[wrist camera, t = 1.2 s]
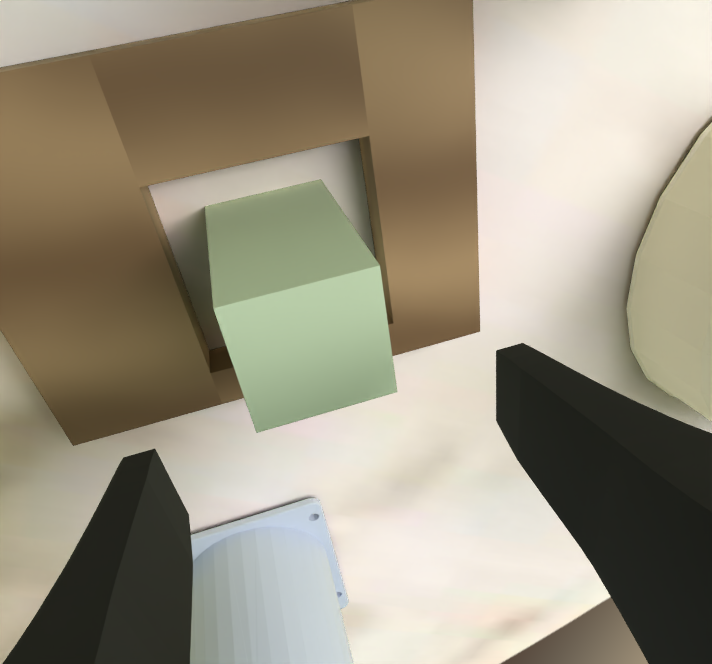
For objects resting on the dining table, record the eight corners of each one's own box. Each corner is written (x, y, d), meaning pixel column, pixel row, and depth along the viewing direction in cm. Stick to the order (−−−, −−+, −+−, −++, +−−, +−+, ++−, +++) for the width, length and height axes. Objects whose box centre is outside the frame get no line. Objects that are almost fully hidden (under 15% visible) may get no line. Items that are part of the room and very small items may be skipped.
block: (339, 280, 21) (397, 392, 15) (237, 307, 20) (256, 432, 15) (320, 179, 19) (379, 265, 13) (204, 206, 18) (213, 308, 13)
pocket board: (464, 313, 23) (479, 331, 22) (79, 419, 21) (73, 445, 20) (451, -19, 17) (472, -19, 15) (-116, 89, 14) (-144, 99, 13)
